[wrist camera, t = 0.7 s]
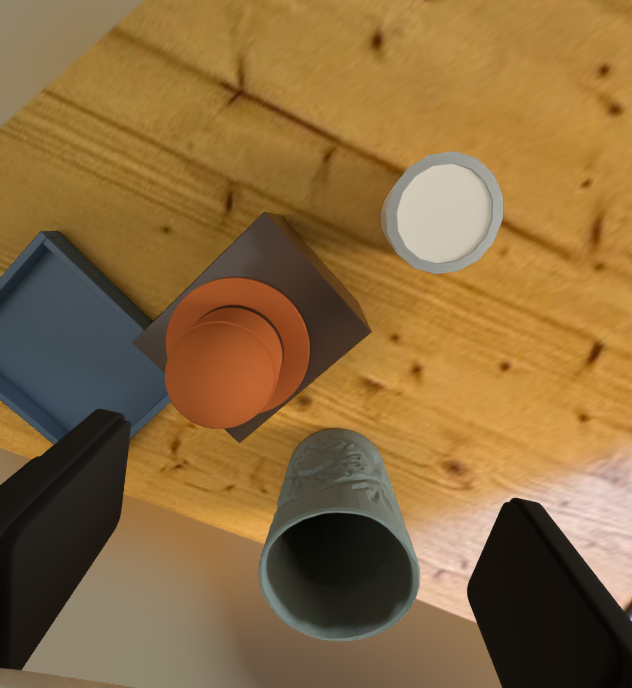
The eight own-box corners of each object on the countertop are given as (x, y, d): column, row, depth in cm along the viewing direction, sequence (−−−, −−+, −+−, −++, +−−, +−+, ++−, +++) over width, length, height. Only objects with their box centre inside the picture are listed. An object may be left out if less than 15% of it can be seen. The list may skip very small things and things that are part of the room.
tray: (-41, 341, 34) (-63, 348, 32) (57, 230, 31) (40, 231, 29) (102, 462, 37) (90, 475, 35) (202, 370, 34) (195, 378, 32)
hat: (138, 343, 24) (68, 389, 18) (238, 245, 23) (203, 255, 16) (239, 437, 26) (210, 512, 19) (339, 353, 24) (345, 403, 18)
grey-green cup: (365, 529, 39) (383, 659, 27) (262, 497, 38) (237, 617, 26) (408, 439, 36) (448, 541, 24) (298, 402, 35) (287, 490, 23)
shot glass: (400, 149, 29) (424, 127, 23) (482, 194, 30) (528, 186, 23) (355, 238, 31) (364, 242, 24) (433, 278, 32) (463, 293, 25)
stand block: (181, 311, 33) (131, 342, 24) (280, 214, 31) (264, 211, 22) (259, 388, 35) (239, 443, 26) (358, 302, 32) (372, 331, 24)
